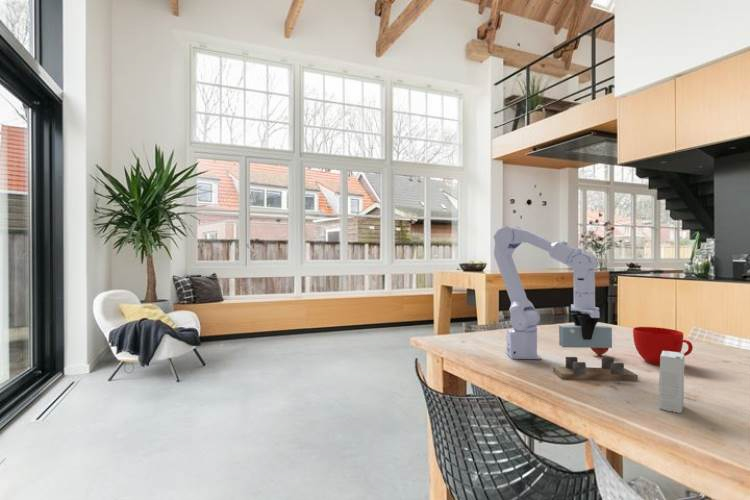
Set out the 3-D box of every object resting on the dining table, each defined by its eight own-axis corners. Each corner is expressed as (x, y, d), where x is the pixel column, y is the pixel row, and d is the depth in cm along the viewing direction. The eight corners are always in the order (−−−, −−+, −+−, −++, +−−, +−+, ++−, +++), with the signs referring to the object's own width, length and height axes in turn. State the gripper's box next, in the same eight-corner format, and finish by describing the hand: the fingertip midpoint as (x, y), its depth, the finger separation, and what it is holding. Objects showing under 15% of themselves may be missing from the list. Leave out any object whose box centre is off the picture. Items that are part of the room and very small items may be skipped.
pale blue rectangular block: (564, 348, 118) (564, 327, 118) (559, 345, 122) (559, 325, 122) (613, 348, 117) (613, 328, 117) (606, 345, 121) (606, 325, 121)
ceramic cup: (674, 374, 114) (674, 338, 114) (623, 358, 130) (623, 327, 130) (708, 370, 117) (708, 336, 117) (654, 355, 133) (654, 325, 133)
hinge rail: (561, 378, 109) (561, 362, 109) (553, 371, 116) (552, 356, 116) (637, 380, 108) (637, 364, 108) (625, 373, 114) (624, 357, 114)
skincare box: (660, 401, 93) (660, 349, 93) (685, 406, 90) (684, 352, 90) (658, 409, 88) (657, 354, 88) (683, 414, 86) (683, 358, 86)
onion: (604, 353, 136) (604, 330, 136) (612, 358, 131) (612, 333, 131) (586, 353, 137) (586, 329, 137) (594, 357, 131) (593, 333, 131)
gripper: (610, 295, 112) (610, 343, 112) (586, 290, 127) (587, 333, 126) (584, 295, 113) (585, 343, 113) (564, 290, 127) (564, 333, 127)
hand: (584, 338), depth 120 cm, fingers closed on pale blue rectangular block, 3 cm apart
